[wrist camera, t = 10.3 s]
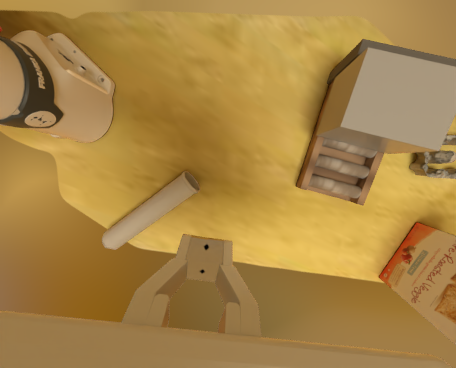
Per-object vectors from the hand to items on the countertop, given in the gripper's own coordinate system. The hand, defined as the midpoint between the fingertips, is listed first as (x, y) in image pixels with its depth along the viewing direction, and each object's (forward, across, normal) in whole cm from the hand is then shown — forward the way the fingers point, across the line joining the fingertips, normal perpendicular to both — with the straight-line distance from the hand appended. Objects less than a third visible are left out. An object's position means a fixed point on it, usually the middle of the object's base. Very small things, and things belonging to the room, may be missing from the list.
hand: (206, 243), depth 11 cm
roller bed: (+27, -24, -3) cm, 36 cm away
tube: (+23, +13, +20) cm, 34 cm away
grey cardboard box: (+25, -23, -7) cm, 35 cm away
